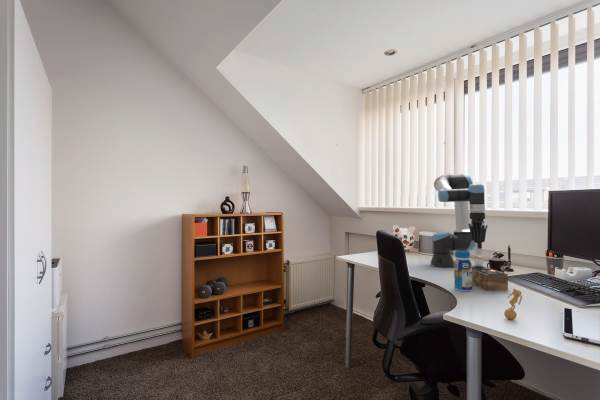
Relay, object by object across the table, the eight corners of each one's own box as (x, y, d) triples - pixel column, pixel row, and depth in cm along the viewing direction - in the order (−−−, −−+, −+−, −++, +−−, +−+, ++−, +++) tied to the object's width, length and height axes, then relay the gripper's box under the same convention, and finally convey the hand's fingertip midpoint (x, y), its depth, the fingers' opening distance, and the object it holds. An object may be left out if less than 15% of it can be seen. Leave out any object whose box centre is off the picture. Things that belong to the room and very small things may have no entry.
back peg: (473, 270, 171) (472, 256, 171) (479, 270, 172) (479, 255, 172) (478, 272, 167) (477, 257, 167) (484, 271, 168) (484, 257, 168)
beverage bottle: (455, 286, 164) (454, 249, 164) (473, 288, 159) (472, 250, 159) (453, 290, 157) (451, 251, 157) (471, 292, 152) (470, 253, 152)
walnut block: (465, 281, 173) (465, 266, 173) (483, 280, 174) (483, 265, 174) (488, 290, 155) (487, 274, 155) (508, 289, 156) (507, 272, 156)
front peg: (486, 285, 161) (485, 269, 161) (493, 284, 162) (492, 269, 162) (491, 287, 157) (491, 271, 157) (498, 286, 158) (498, 271, 158)
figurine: (499, 315, 123) (498, 285, 123) (516, 315, 122) (515, 285, 122) (510, 323, 115) (509, 291, 115) (528, 324, 114) (527, 292, 114)
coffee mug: (500, 274, 187) (500, 257, 187) (509, 277, 178) (508, 260, 178) (480, 274, 188) (480, 258, 188) (488, 277, 179) (487, 260, 179)
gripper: (463, 211, 176) (464, 252, 175) (478, 212, 163) (480, 256, 162) (475, 211, 176) (476, 251, 176) (491, 212, 163) (493, 255, 163)
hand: (478, 254), depth 169 cm, fingers closed
